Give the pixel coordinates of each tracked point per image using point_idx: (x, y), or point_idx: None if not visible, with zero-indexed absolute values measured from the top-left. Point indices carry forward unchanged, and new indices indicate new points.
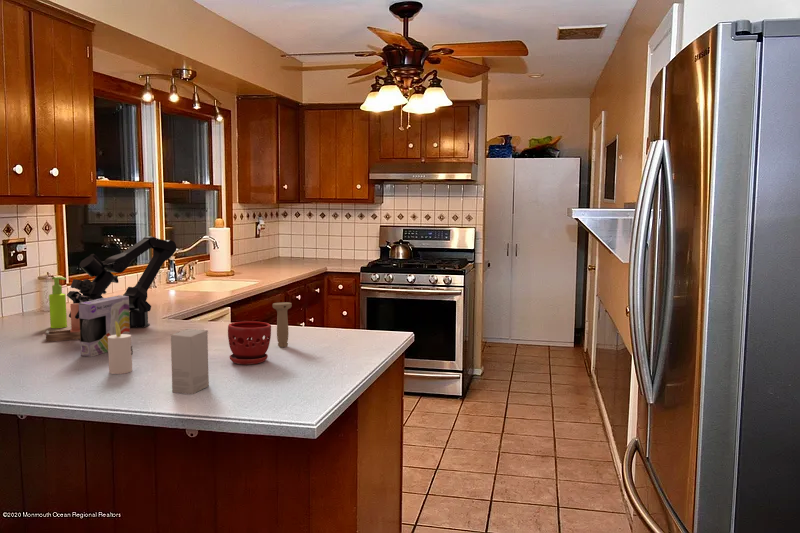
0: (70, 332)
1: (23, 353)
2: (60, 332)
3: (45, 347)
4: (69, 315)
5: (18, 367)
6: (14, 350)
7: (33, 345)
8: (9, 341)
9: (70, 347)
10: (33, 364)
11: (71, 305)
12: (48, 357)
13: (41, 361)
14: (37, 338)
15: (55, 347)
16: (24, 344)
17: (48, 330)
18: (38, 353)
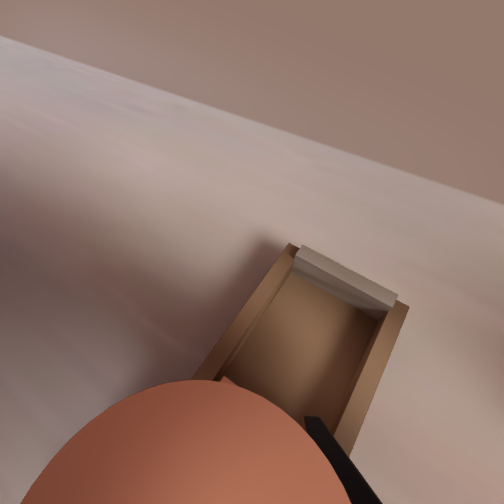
0: (223, 377)
1: (154, 124)
2: (354, 379)
3: (166, 198)
4: (307, 421)
5: (23, 62)
6: (229, 130)
7: (253, 195)
8: (436, 191)
9: (49, 246)
10: (4, 84)
11: (190, 381)
12: (18, 130)
13: (4, 103)
14: (425, 290)
15: (122, 216)
16: (309, 189)
17: (386, 301)
18: (101, 141)
